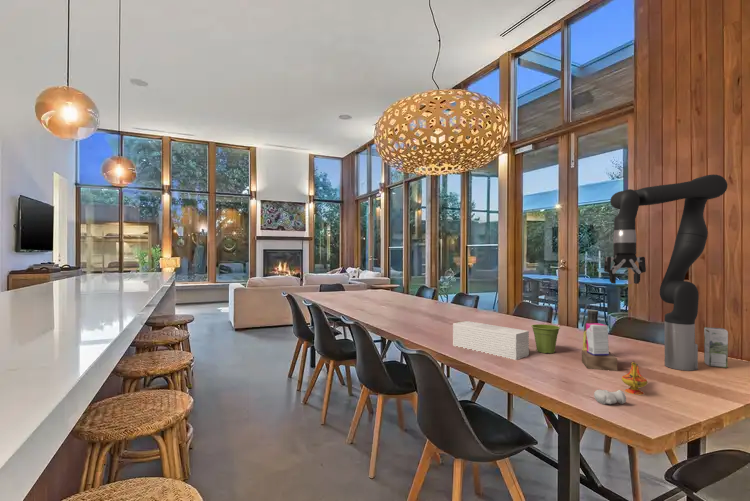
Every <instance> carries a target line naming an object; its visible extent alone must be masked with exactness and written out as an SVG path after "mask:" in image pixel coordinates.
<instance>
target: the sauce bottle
mask: <svg viewBox="0 0 750 501" xmlns="http://www.w3.org/2000/svg"><path fill="white" fill-rule="evenodd" d="M586 313H587V320H586V322H585V323H584V325H583V335H582V337H583V338H582V350H586V351H587V335H586V324H592V323H599V322H598V320H599V319H598V318H599V317H598V315H599V310H596V309H587V312H586Z"/></svg>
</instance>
